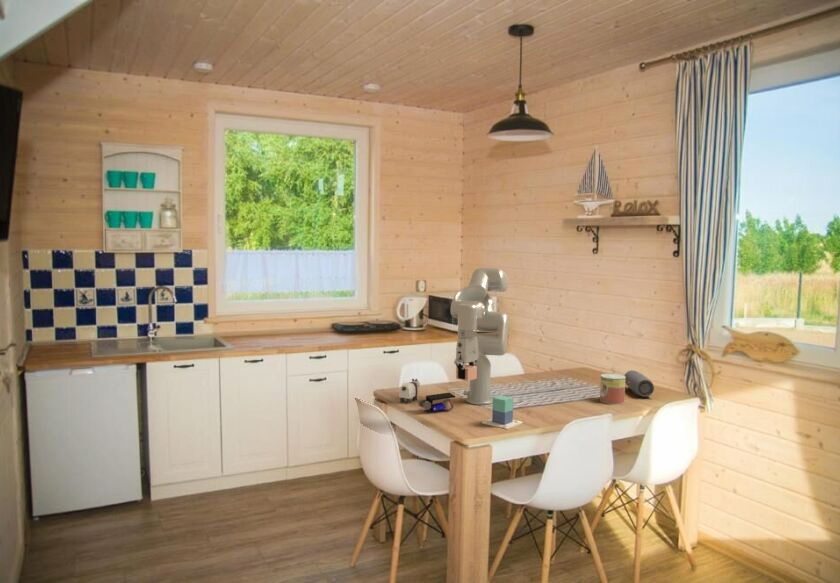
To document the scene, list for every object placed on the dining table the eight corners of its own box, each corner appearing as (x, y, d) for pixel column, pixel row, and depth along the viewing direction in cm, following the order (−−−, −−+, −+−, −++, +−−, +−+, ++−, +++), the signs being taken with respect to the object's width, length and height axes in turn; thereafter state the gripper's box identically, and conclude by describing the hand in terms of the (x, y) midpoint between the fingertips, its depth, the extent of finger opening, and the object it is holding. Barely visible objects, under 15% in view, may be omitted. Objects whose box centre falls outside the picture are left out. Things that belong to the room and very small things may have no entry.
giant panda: (408, 404, 296) (408, 383, 295) (397, 402, 298) (398, 382, 297) (423, 397, 308) (423, 377, 308) (413, 396, 311) (413, 376, 310)
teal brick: (492, 409, 267) (492, 397, 267) (500, 407, 271) (501, 395, 271) (504, 412, 263) (505, 400, 263) (512, 409, 268) (513, 397, 267)
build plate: (481, 423, 267) (482, 410, 266) (498, 417, 276) (498, 404, 276) (507, 429, 259) (507, 415, 259) (522, 422, 268) (523, 409, 268)
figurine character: (425, 418, 279) (457, 411, 285) (423, 400, 278) (455, 394, 284) (418, 414, 285) (450, 407, 291) (417, 397, 284) (448, 390, 290)
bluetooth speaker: (622, 388, 336) (622, 369, 335) (640, 388, 336) (641, 369, 335) (635, 399, 313) (635, 378, 312) (654, 399, 313) (655, 378, 312)
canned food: (594, 399, 311) (595, 374, 310) (615, 397, 315) (616, 373, 314) (608, 405, 301) (609, 379, 300) (629, 403, 304) (630, 378, 303)
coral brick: (456, 378, 269) (456, 366, 268) (465, 376, 273) (465, 364, 273) (467, 381, 265) (468, 368, 264) (476, 378, 269) (476, 366, 269)
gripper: (462, 337, 258) (461, 382, 260) (486, 332, 271) (485, 374, 273) (446, 335, 263) (446, 379, 265) (471, 330, 276) (471, 372, 278)
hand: (466, 376), depth 269 cm, fingers closed on coral brick, 6 cm apart
